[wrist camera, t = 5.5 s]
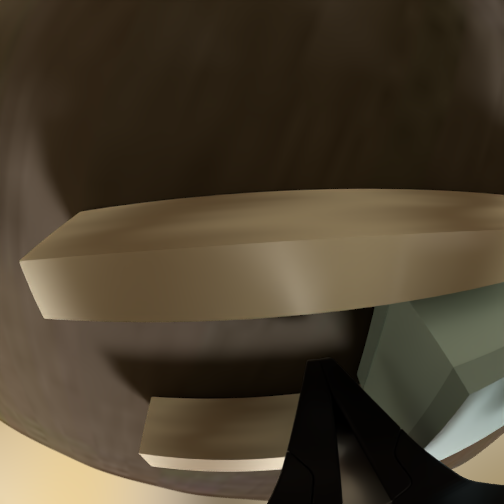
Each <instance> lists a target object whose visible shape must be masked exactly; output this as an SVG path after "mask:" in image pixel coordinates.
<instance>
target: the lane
mask: <svg viewBox="0 0 504 504" xmlns="http://www.w3.org/2000/svg"><path fill="white" fill-rule="evenodd" d="M19 262H20V265H21V267H22V270H23V273H24V275H25V278H26V280H27V282H28V285H29V287H30V289H31V292H32V294H33V296H34V298H35V301H36V303H37V305H38V307H39V309H40V311H41V313H42V315H43V317H44V319H59V320H77V321H102V322H193V321H220V320H240V319H256V318H270V317H283V316H295V315H305V314H316V313H325V312H334V311H343V310H351V309H359V308H366V307H374V306H381V305H387V304H394V303H400V302H407V301H413V300H419V299H424V298H430V297H436V296H441V295H446V294H451V293H456V292H461V291H466V290H471V289H475V288H480V287H484V286H489V285H493V284H497V283H501V282H504V195H499V194H488V193H475V192H460V191H441V190H414V189H321V190H292V191H271V192H254V193H239V194H225V195H213V196H202V197H191V198H181V199H171V200H162V201H153V202H145V203H137V204H129V205H122V206H115V207H108V208H101V209H94V210H88V211H81V212H79V213H78V214H76V215H75V216H74V217H72V218H71V219H70V220H68V221H67V222H66V223H64V224H63V225H62V226H61V227H59V228H58V229H57V230H55V231H54V232H53V233H52V234H50V235H49V236H48V237H47V238H45V239H44V240H43V241H42V242H41V243H39V244H38V245H37V246H36V247H35V248H33V249H32V250H31V251H30V252H29V253H28V254H26V255H25V256H24V257H23V258H22V259H21V260H20V261H19ZM358 385H359V386H360V387H361V385H360V384H358ZM361 388H362V387H361ZM363 390H364V389H363ZM299 396H300V393H299V394H290V395H279V396H267V397H252V398H226V399H191V398H165V397H151V400H150V405H149V409H148V413H147V418H146V422H145V426H144V431H143V436H142V440H141V445H140V450H139V454H140V455H141V456H142V457H143V458H144V459H145V460H146V461H147V462H148V463H149V464H150V465H151V466H154V467H162V468H171V469H181V470H195V471H226V472H231V471H262V470H276V469H282V466H283V463H284V459H285V455H286V452H287V448H288V444H289V440H290V436H291V432H292V428H293V423H294V419H295V414H296V410H297V405H298V401H299Z"/></svg>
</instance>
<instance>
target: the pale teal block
mask: <svg viewBox="0 0 504 504" xmlns="http://www.w3.org/2000/svg"><path fill="white" fill-rule="evenodd" d="M357 376H358V379H359V382H360V385H361V387H362V389H364V391H365V392H366V393H367V394H368V395H369V396H370V397H371V398H372V399H373V400H374V401H375V402H376V403H377V404H378V405H379V406H380V407H381V408H382V409H383V410H384V411H385V412H386V413H387V414H388V415H389V416H390V417H391V418H392V419H393V420H394V421H395V422H396V423H397V424H398V425H399V426H400V429H403V430H404V431H405V432H406V433H407V434H408V435H409V436H410V437H411V438H412V439H413V440H414V441H415V442H416V443H417V444H419V445H420V446H421V447H422V448H423V449H425V450H426V451H427V452H428V453H430V454H431V455H432V456H433V457H435V458H436V459H438V460H439V461H440V460H442V459H444V458H446V457H448V456H450V455H452V454H454V453H456V452H458V451H460V450H462V449H464V448H466V447H468V446H470V445H472V444H473V443H475V442H477V441H479V440H480V439H482V438H484V437H486V436H487V435H489V434H491V433H492V432H494V431H495V430H497V429H498V428H500V427H502V426H503V425H504V282H501V283H497V284H493V285H489V286H484V287H480V288H475V289H471V290H466V291H461V292H456V293H451V294H446V295H441V296H436V297H430V298H424V299H419V300H413V301H407V302H400V303H394V304H387V305H381V306H375V308H374V312H373V316H372V321H371V325H370V329H369V333H368V336H367V340H366V344H365V347H364V351H363V355H362V358H361V361H360V365H359V368H358V371H357Z"/></svg>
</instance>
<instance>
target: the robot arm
mask: <svg viewBox="0 0 504 504" xmlns="http://www.w3.org/2000/svg"><path fill="white" fill-rule="evenodd" d="M267 504H504V485H497V484H489V483H482V482H475V481H472V480H468V479H466V478H464V477H462V476H460V475H458V474H457V473H455V472H454V471H453V470H451V469H450V468H448V467H447V466H446V465H444V464H443V463H442V462H440V461H439V460H438V459H436V458H435V457H433V456H432V455H431V454H430V453H428V452H427V451H426V450H425V449H423V448H422V447H421V446H420V445H419V444H417V443H416V442H415V441H414V440H413V439H412V438H411V437H410V436H409V435H408V434H407V433H406V432H405V431H404V430H403V429H400V426H399V425H398V424H397V423H396V422H395V421H394V420H393V419H392V418H391V417H390V416H389V415H388V414H387V413H386V412H385V411H384V410H383V409H382V408H381V407H380V406H379V405H378V404H377V403H376V402H375V401H374V400H373V399H372V398H371V397H370V396H369V395H368V394H367V393H366V392H365V391H364V390H363V389H362V388H361V387H360V386H359V385H358V384H357V383H356V382H355V381H354V380H353V379H352V377H351V376H350V375H349V374H348V373H347V372H346V371H345V370H344V369H343V368H342V367H341V366H340V365H339V364H338V363H337V362H336V361H335V360H334V359H333V358H331V357H327V358H320V359H311V360H307V361H306V366H305V371H304V376H303V381H302V386H301V391H300V396H299V401H298V405H297V410H296V414H295V419H294V423H293V428H292V432H291V436H290V440H289V444H288V448H287V452H286V455H285V459H284V463H283V466H282V469H281V472H280V476H279V479H278V481H277V483H276V486H275V488H274V490H273V493H272V495H271V497H270V499H269V501H268V503H267Z"/></svg>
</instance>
